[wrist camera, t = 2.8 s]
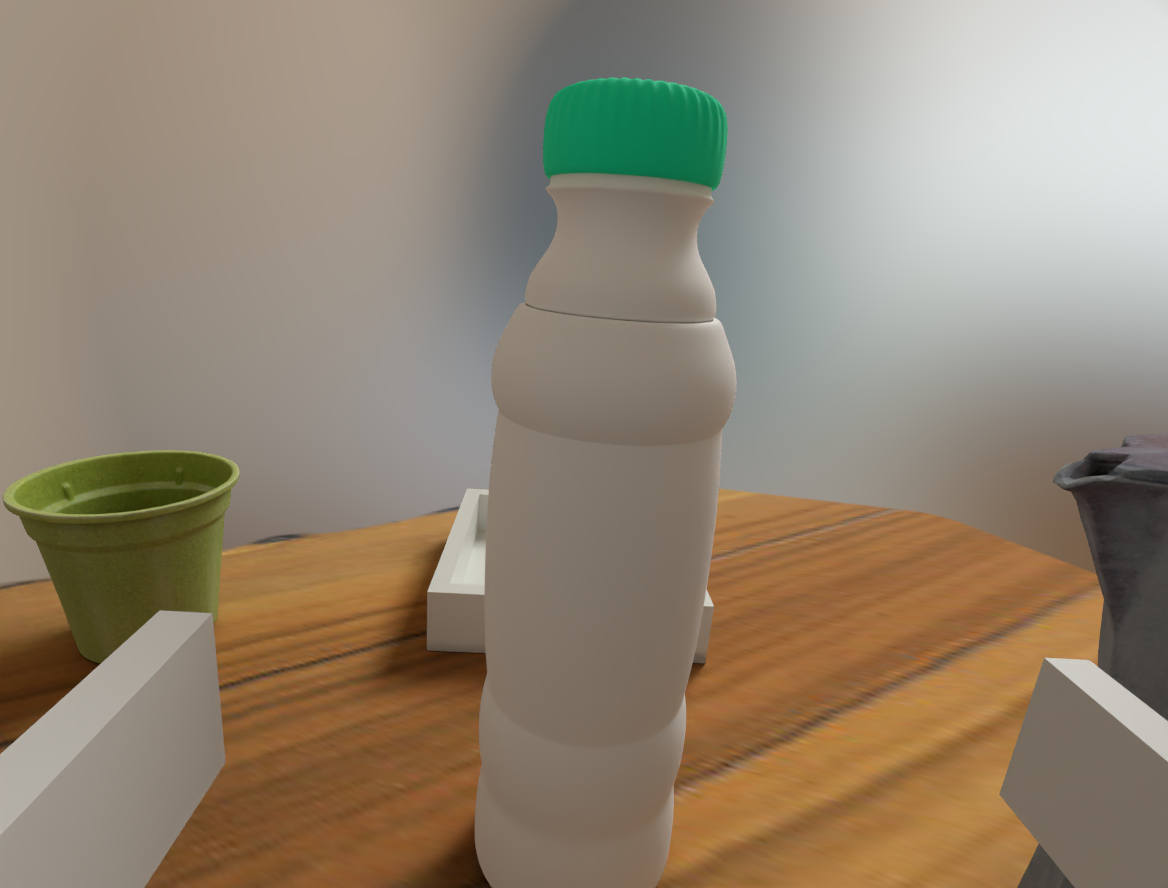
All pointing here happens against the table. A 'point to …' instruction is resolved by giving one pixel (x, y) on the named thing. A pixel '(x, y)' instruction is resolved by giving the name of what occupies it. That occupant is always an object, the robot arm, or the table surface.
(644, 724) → the water bottle
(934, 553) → the table surface
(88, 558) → the plant pot
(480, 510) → the white tray
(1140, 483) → the moka pot
